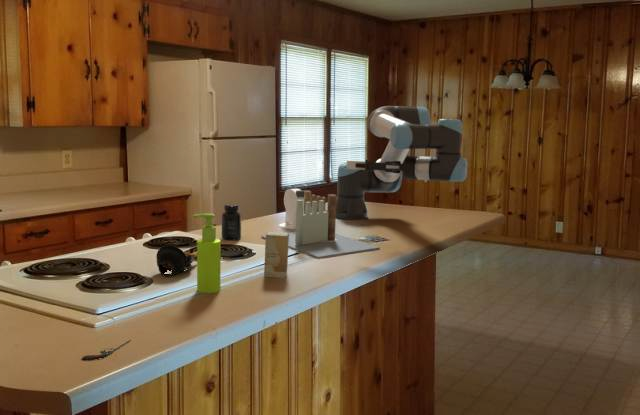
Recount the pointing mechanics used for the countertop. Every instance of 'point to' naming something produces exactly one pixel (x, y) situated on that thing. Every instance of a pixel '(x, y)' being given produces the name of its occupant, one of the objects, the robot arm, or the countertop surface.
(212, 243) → the soap dispenser
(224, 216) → the supplement bottle
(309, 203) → the fence panel
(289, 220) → the panda figurine
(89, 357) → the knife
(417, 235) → the countertop surface
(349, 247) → the card
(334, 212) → the fence fixed
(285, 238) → the skincare box
